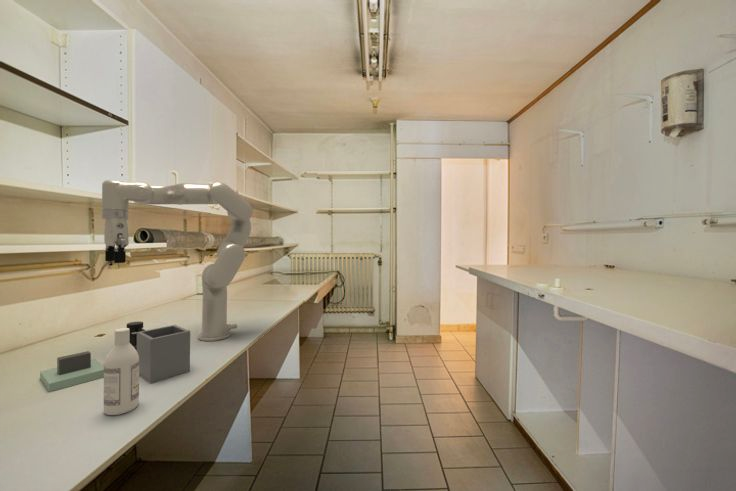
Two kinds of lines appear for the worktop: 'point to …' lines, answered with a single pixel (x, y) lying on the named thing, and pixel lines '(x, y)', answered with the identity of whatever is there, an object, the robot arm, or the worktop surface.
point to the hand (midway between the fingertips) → (115, 261)
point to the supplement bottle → (134, 332)
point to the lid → (72, 371)
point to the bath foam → (121, 375)
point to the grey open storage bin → (163, 352)
